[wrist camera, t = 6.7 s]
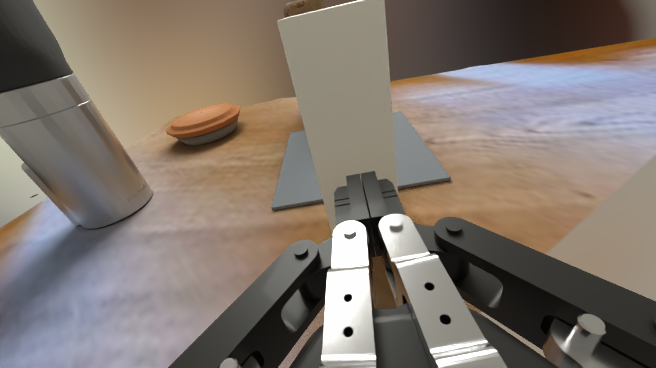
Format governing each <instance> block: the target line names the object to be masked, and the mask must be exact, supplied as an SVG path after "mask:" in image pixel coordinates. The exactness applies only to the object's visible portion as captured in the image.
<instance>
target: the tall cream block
mask: <svg viewBox="0 0 656 368" xmlns="http://www.w3.org/2000/svg"><path fill="white" fill-rule="evenodd" d="M277 23H278V27H279V31H280V35H281V39H282V43H283V46H284V51H285V54H286V58H287V62H288V66H289V70H290V74H291V78H292V81H293V86H294V89H295V93H296V97H297V101H298V105H299V109H300V113H301V117H302V120H303V124H304V128H305V132H306V136H307V140H308V144H309V148H310V152H311V155H312V159H313V163H314V167H315V171H316V175H317V179H318V183H319V186H320V190H321V194H322V198H323V202H324V206H325V210H326V214H327V217H328V221H329V225H330V229H331V233H332V235H333V232H334V230H335V228H336V219H335V204H334V192H335V191H336V189H337V187H341V186H347V181H346V176H349V175H354V174H360V178H361V173H365V172H371V171H375V173H376V177H377V180H381V179H388V180H389V181H391V182H392V183H393V185H394V187H395V190H396V192H397V195H398V186H397V171H396V157H395V143H394V129H393V115H392V101H391V87H390V72H389V59H388V44H387V30H386V17H385V2H384V0H359V1H355V2H350V3H346V4H342V5H338V6H333V7H329V8H325V9H321V10H316V11H312V12H308V13H304V14H299V15H295V16H291V17H287V18H284V19H281V20H277ZM361 182H362V180H361ZM362 187H363V186H362Z"/></svg>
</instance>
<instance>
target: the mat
mask: <svg viewBox="0 0 656 368" xmlns="http://www.w3.org/2000/svg"><path fill="white" fill-rule="evenodd" d="M392 115H393V129H394V143H395V157H396V171H397V186H398V189H402V188H408V187H413V186H419V185H425V184H431V183H437V182H443V181H449V180H450V178H451V177H450V176H449V174H448V173H447V172H446V170H445V169H444V168H443V166H442V165H441V164H440V162H439V161H438V160H437V158H436V157H435V156H434V154H433V153H432V152H431V150H430V149H429V148H428V147H427V145H426V144H425V143H424V141H423V140H422V139H421V137H420V136H419V135H418V133H417V132H416V131H415V129H414V128H413V127H412V125H411V124H410V123H409V121H408V120H407V119H406V117H405V116H404V115H403V113H402V112H401V111H400V112H395V113H392ZM319 202H323V198H322V194H321V190H320V186H319V183H318V179H317V175H316V171H315V167H314V163H313V159H312V155H311V152H310V148H309V144H308V140H307V136H306V132H305V130H303V131H298V132H293V133H290V136H289V140H288V144H287V148H286V152H285V156H284V160H283V164H282V168H281V172H280V176H279V180H278V184H277V188H276V191H275V195H274V199H273V203H272V207H271V208H272V210H278V209H284V208H290V207H296V206H302V205H308V204H313V203H319Z"/></svg>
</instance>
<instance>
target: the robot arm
mask: <svg viewBox="0 0 656 368" xmlns="http://www.w3.org/2000/svg"><path fill="white" fill-rule="evenodd" d="M72 73H73V71H72V70H71V68H70V67H69V65H68V63H67V62H66V60H65V58H64V55H63V53H62V50H61V48H60V46H59V44H58V42H57V40H56V38H55V37H54V35H53V33H52V32H51V30H50V29H49V27H48V25H47V24H46V22H45V21H44V19H43V17H42V15H41V14H40V12H39V11H38V9H37V7H36V6H35V4H34V2H33V0H0V136H1V137H2V139H3V140H4V141H5V142H6V143H7V144H8V145H9V146H10V147H11V148H12V149H13V151H14V152H15V153H16V154H17V155H18V156H19V157H20V158H21V159H22V160H23V162H24V163H23V164H22V166H21V167H22V169H23V170H24V172H25V173H26V174H27V175H28V176H29V177H30V178H31V179H32V180H33V181H34V182H35V183H36V184H37V185H38V187H39V188H40V189H41V190H42V191H43V192H44V193H45V194H46V195H47V196H48V197H49V198H50V199H51V200H52V202H53V203H54V204H55V205H56V206H57V207H58V208H59V209H60V210H61V211H62V212H63V213H64V214H65V216H66V217H67V218H68V219H69V220H70V221H71V222H72V223H73V224H74V225H75V226H76V225H82V226H83V227H84V228H88V229H93V228H99V227H103V226H106V225H109V224H112V223H115V222H117V221H119V220H121V219H123V218H125V217H127V216H129V215H131V214H132V213H134V212H135V211H137V210H138V209H140V208H141V207H142V206H143V205H145V204H146V203H147V202H148V201H149V199H150V198H151V196H152V190H151V188H150V187H149V185H148V184H147V182H146V181H145V179H144V178H143V176H142V175H141V173H140V172H139V170H138V169H137V167H136V166H135V164H134V162H133V161H132V159H131V158H130V156H129V155H128V153H127V152H126V150H125V149H124V147H123V146H122V144H121V143H120V141H119V140H118V139H117V137H116V135H115V134H114V132H113V131H112V129H111V128H110V126H109V125H108V123H107V122H106V121H105V119H104V118H103V116H102V114H101V113H100V111H99V110H98V109H97V107H96V105H95V104H94V102H93V101H92V99H90V97H89V95H88V94H87V92H86V91H85V89H84V87H83V86H82V84H81V83H80V81H79V80H78V78H77V77H76V75H75V74H72ZM361 180H362V182H361ZM346 181H347V186H341V187H337V189H336V191H335V192H334V204H335V219H336V228H335V230H334V232H333V235H332V236H331V237H330V238H329V239H328V240H326V241H324V242H322V243H319V244H317V245H316V243H314V242H313V241H311V240H300V241H297V242H295V243H293V244H292V245H290V246H289V247H288V248H287V249H286V250H285V251H284V252H283V253H282V254H281V255H280V256H279V257H278V258H277V259H276V260H275V261H274V262H273V263H272V264H271V265H270V266H269V267H268V268H267V269H266V270H265V271H264V272H263V273H262V274H261V275H260V276H259V277H258V278H257V279H256V280H255V281H254V282H253V283H252V284H251V285H250V286H249V287H248V288H247V289H246V290H245V291H244V292H243V293H242V294H241V295H240V296H239V297H238V298H237V299H236V300H235V301H234V302H233V303H232V304H231V305H230V306H229V307H228V308H227V309H226V310H225V311H224V312H223V313H222V314H221V315H220V316H219V317H218V318H217V319H216V320H215V321H214V322H213V323H212V324H211V325H210V326H209V327H208V328H207V329H206V330H205V331H204V332H203V333H202V334H201V335H200V336H199V337H198V338H197V339H196V340H195V341H194V342H193V343H192V344H191V345H190V346H189V347H188V348H187V349H186V350H185V351H184V352H183V353H182V354H181V355H180V356H179V357H178V358H177V359H176V360H175V361H174V362H173V363H172V364H171V365H170V366H169V367H168V368H278V367H279V365H280V364H281V363H282V361H283V360H284V359H285V357H286V356H287V355H288V353H289V352H290V350H291V349H292V348H293V346H294V345H295V344H296V342H297V341H298V340H299V338H300V337H301V336H302V334H303V333H304V332H305V330H306V329H307V328H308V326H309V325H310V324H311V322H312V321H313V319H314V318H315V317H316V315H317V314H318V313H319V311H320V310H321V309H322V307H323V306H324V305H325V317H324V325H323V326H321V327H320V328H319V329H318V330H316V331H315V332H314V333H313V335H312V336H311V337H310V338H309V339H308V341H307V342H306V344H305V345H304V347H303V348H302V350H301V351H300V353H299V354H298V356H297V357H296V359H295V360H294V361H293V363H292V364H291V366H290V367H289V368H656V301H653V300H651V299H649V298H646V297H644V296H642V295H639V294H637V293H635V292H632V291H630V290H628V289H625V288H623V287H621V286H618V285H616V284H613V283H611V282H609V281H606V280H604V279H602V278H599V277H597V276H594V275H592V274H590V273H587V272H585V271H582V270H580V269H578V268H576V267H574V266H571V265H569V264H566V263H564V262H562V261H559V260H557V259H555V258H552V257H550V256H548V255H545V254H543V253H541V252H538V251H536V250H534V249H531V248H529V247H527V246H524V245H522V244H520V243H517V242H515V241H513V240H510V239H508V238H505V237H503V236H501V235H498V234H496V233H494V232H491V231H489V230H487V229H484V228H482V227H480V226H477V225H475V224H473V223H470V222H468V221H466V220H463V219H460V218H456V217H447V218H443V219H440V220H439V221H437V222H436V224H435V226H425V225H419V224H416V223H414V222H412V221H411V219H410V218H409V217H407V216H406V214H405V212H404V209H403V207H402V204H401V202H400V199H399V197H398V195H397V192H396V190H395V187H394V185H393V183H392V182H391V181H389V180H388V179H381V180H377V177H376V173H375V171H371V172H365V173H361V178H360V174H354V175H349V176H346ZM362 186H363V187H362ZM373 241H374V244H373ZM374 246H375V250H376V255H377V256H382V259H383V264H384V271H385V274H386V277H387V280H388V283H389V286H390V289H391V292H392V295H393V298H394V301H395V304H396V308H393V309H380V308H376V300H375V290H374V280H373V271H372V269H373V262H372V257H375V251H374ZM470 263H471V264H470ZM483 270H484V271H483ZM485 271H486V272H485ZM463 299H464V300H465V301H467V302H468V303H470V304H472V305H473V306H475V307H476V308H478V309H479V310H481V311H483V312H484V313H486V314H487V315H489V316H490V317H492V318H493V319H495V320H497V321H498V322H500V323H501V324H503V325H504V326H506V327H508V328H509V329H511V330H512V331H514V332H516V333H517V334H519V335H520V336H522V337H523V338H525V339H526V340H528V341H529V342H531V343H533V344H534V345H536V346H537V347H539V348H540V349H542V350H543V352H544V355H545V357H546V358H544V357H543V356H541V355H540V354H538V353H537V352H536V351H534V350H533V349H531V348H530V347H528V346H527V345H525V344H524V343H522V342H521V341H520V340H518V339H517V338H515V337H514V336H512V335H511V334H509V333H507V332H506V331H505V330H504V329H502V328H501V327H499V326H498V325H496V324H495V323H493V322H492V321H490V320H489V319H488V318H486V317H484V316H483V315H481V314H479V313H477V312H475V311H473V310H471V309H469V308H467V306H466V304H465V303H464V301H463Z"/></svg>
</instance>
